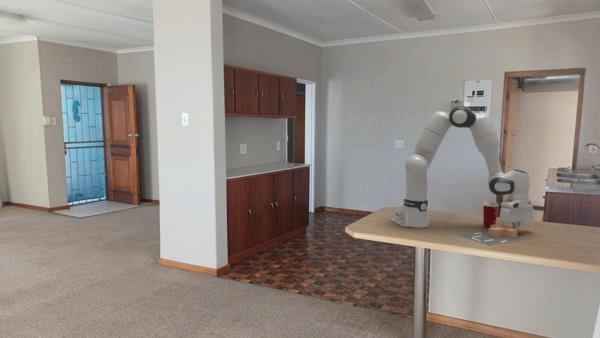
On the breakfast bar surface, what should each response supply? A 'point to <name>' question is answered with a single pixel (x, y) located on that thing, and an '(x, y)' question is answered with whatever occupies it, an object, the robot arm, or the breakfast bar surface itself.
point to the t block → (502, 232)
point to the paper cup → (489, 213)
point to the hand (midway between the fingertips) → (516, 229)
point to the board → (489, 238)
